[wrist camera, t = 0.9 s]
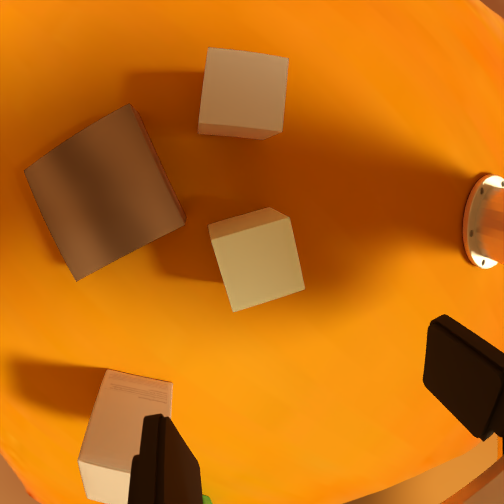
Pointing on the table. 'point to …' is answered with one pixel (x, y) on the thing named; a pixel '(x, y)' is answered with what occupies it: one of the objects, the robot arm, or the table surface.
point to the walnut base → (104, 193)
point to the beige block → (257, 257)
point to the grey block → (243, 94)
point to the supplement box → (118, 432)
